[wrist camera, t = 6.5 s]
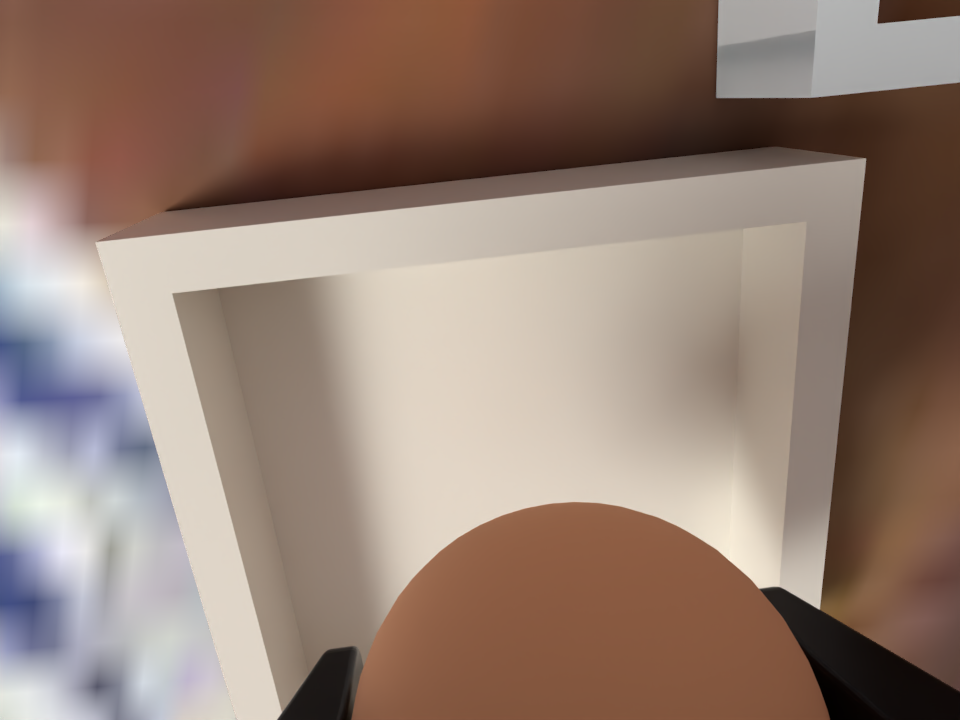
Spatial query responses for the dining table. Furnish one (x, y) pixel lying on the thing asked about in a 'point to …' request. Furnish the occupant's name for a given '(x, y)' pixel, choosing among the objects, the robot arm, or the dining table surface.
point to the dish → (486, 378)
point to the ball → (584, 629)
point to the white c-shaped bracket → (828, 49)
